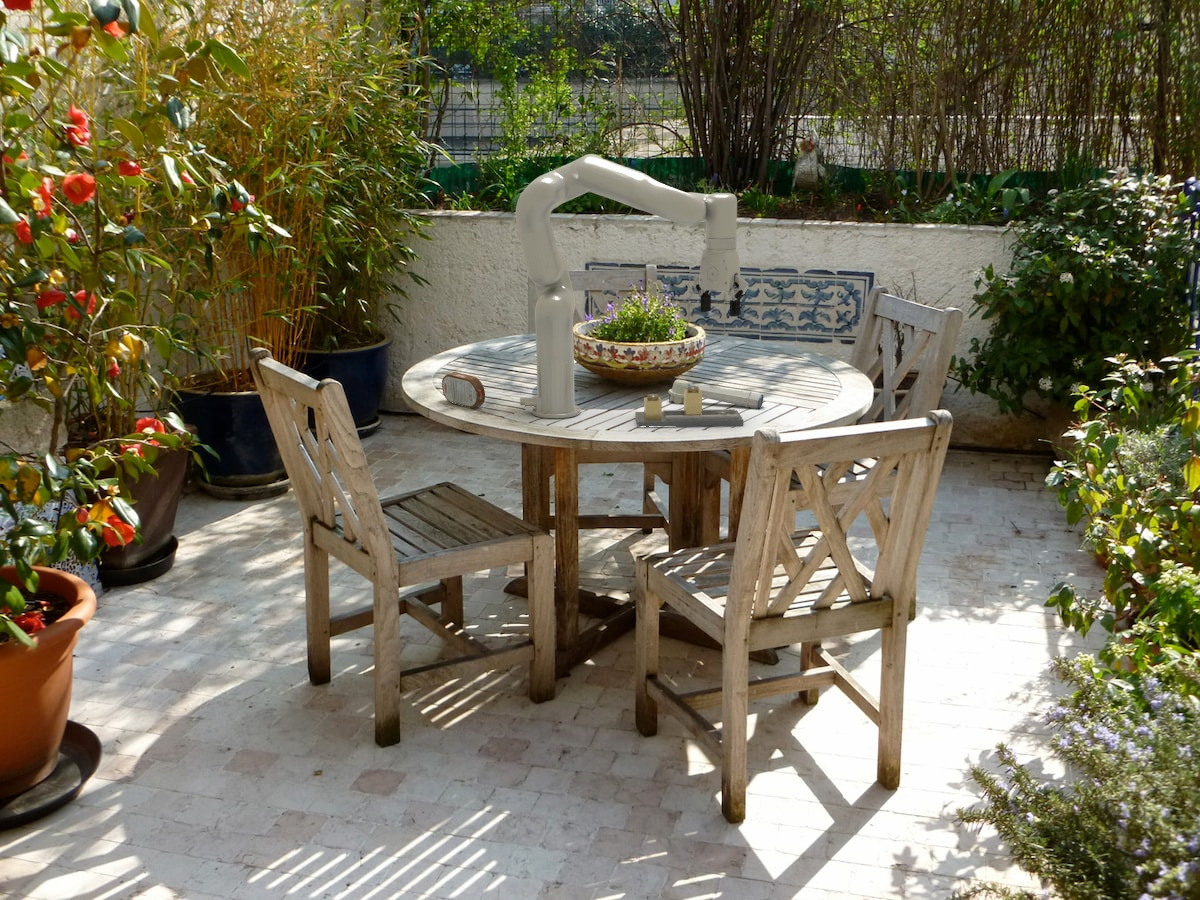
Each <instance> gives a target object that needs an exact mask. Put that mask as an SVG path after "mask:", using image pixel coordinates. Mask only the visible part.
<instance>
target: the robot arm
mask: <svg viewBox="0 0 1200 900" xmlns="http://www.w3.org/2000/svg"><path fill="white" fill-rule="evenodd" d="M586 193H592V194H595V195H598V196H601V197H604V198H607V199H610V200H613V201H616V202H618V203H621V204H623V205H626V206H628V207H631V208H634V209H636V210H639V211H644V212H646V213H649V214H652V215H653V216H657V217H659V218H661V219H665V220H668V221H671V222H672V223H676V224H679V225H682V226H685V227H694V226H697V225H700V224H701V223H702V222H705V238H704V239H703V244H705V249H703V250H702V254H701V258H700V267H699V273H698V274H697V275H695V276H694V277H693V278H692V279H693V282H694V285H695V289H696V291H697V292H698V296H699V297H700V312H701V313H705V312H706V313H707V312H710V311H711V310H712V309H711V308H712V295H711V294H710V293H711V292H718V293H728V295H729V297H730V300H729V316H730V317H731V318H732V317H733V318H734V317H738V316H741V300H743V299H744V296H745V295H746V293H747V290H748V288H749V286H750V283H749V282H748V281H747V280H745V279H744V278H743V277H741V264H740V257H739V251H738V250H737V232H738V231H737V228H738V227H737V224H738V223H737V222H738V216H737V215H738V199H737V196H736V195H735V194H733V193H731V192H730V193H729V192H719V193H718V192H714V193H711V194H709V193H708V194H707V193H700V192H693V191H692V192H691V191H690V192H685V191H683V190H680V189H677V188H675V187H672V186H669V185H666V184H664V183H661V182H660V181H657V180H656V179H655V178H652V177H651V176H649V175H647V174H646V173H643V172H642V171H640V170H636V169H633V168H630V167H627V166H625V165H622V164H618V163H616V162H613V161H611V160H607V159H605V158H603V157H602V156H600V155H598V154H594V153H589V154H585V155H583V156H581V157H579V158H577V159H575V160H573V161H570V162H569V163H567V164H565V165H563V166H560V167H558V168H555V169H554V170H551V171H547V172H546V173H544V174H541V175H539V176H537V177H536V178H535V179H534V180H532V181H531V182H530V183H529V184H528V185H526V187H525V188H524V189H523V191H522V192H521V193H520V195H519V197H518V199H517V203H516V207H515V222H516V227H517V231H518V236H519V241H520V246H521V250H522V254H523V259H524V263H525V269H526V273H527V276H528V278H529V279H530V281H532V283H533V284H534V289H535V293H536V296H537V300H536V301H537V302H536V304H535V308H534V327H535V345H536V346H535V347H536V348H535V350H536V386H537V387H536V390H537V393H536V394H535V396H532V397H520V398H519V405H520V406H524V407H532V408H531V414H532V415H533V416H536V417H538V418H545V419H567V418H572V417H576V416H579V414H581V411H582V409H581V407H580V406H579V405H576V404H575V351H574V350H575V344H574V343H575V342H574V339H575V338H574V314H575V310H576V306H577V303H576V298H575V297H576V296H575V293H574V289H573V283H572V280H571V277H570V271H569V267H568V263H567V260H566V258H565V255H564V253H563V252H562V250H561V249H559V248H558V246H557V243H556V239H555V235H554V229H553V226H552V223H551V213H552V211H553V210H554V209H557V207H560V205H562V204H564V203H567V202H569V201H571V200H574V199H575V198H577V197H581V196H582V195H584V194H586Z"/></svg>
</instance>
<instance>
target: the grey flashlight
mask: <svg viewBox="0 0 1200 900" xmlns="http://www.w3.org/2000/svg"><path fill="white" fill-rule="evenodd" d="M688 386H698V387H699V389H700V390H701V392H702V399H703V398H704V399H708V400H713V401H717V402H721V403H728V404H730V405H736V406H739V407H740V406H741V407H745V408H746V409H748V408H749V407H750V409H755V408H760V409H761V408H762V407H761V406H763V402H764V394H760V393H757V392H752V390H749V391H744V390H737V389H732V388H731V389H729V388H724V387H717V386H711V385H710V386H709V385H703V384H697V383H696V384H695V383H690V382H689V381H688V380H685V379H676V380H674V382H673V385H672V388H670V389H669V390H668V391H667V392H668V394H669V396H668V400H669V402H670V403H671V402H673V403H674V404H678V405H680V404H684V389H687V387H688ZM747 407H748V408H747Z"/></svg>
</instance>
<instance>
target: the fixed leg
mask: <svg viewBox="0 0 1200 900" xmlns="http://www.w3.org/2000/svg"><path fill="white" fill-rule="evenodd" d="M662 403H663V401H662V399H661V396H659V394H657V393H648V394H647V396H646V397H644V399H643V408H644V409H643V412H644V416H645V419H662V411H663V410H662V409H663V408H662V407H663V404H662Z"/></svg>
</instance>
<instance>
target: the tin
mask: <svg viewBox="0 0 1200 900" xmlns="http://www.w3.org/2000/svg"><path fill="white" fill-rule="evenodd" d="M441 390H442V394H443V396H444V398H445V399H446V400H447V402H448V403H450V402H453V403H456V404H460V405H463V406H462V407H464V406H466V407H465V408H467V407H470V408H469V409H476V408H478V406H479V407H482V406H483V404H484V403H485V401H486V391H485V388H484V385H483V383H482V381H481V380H480V379H479V378H477V377H476V376H473V375H470V374H465V373H462V372H457V371H453V372H450V373H448V374H445V375H444V376H443V378H442V380H441ZM456 404H455V405H456ZM460 405H459V406H460Z"/></svg>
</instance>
